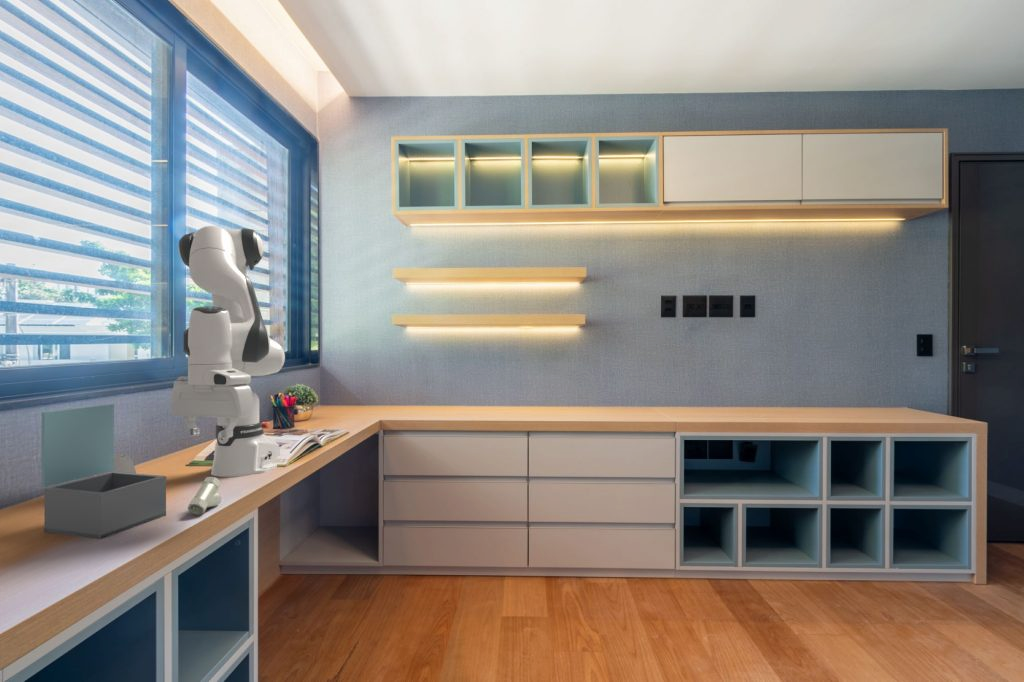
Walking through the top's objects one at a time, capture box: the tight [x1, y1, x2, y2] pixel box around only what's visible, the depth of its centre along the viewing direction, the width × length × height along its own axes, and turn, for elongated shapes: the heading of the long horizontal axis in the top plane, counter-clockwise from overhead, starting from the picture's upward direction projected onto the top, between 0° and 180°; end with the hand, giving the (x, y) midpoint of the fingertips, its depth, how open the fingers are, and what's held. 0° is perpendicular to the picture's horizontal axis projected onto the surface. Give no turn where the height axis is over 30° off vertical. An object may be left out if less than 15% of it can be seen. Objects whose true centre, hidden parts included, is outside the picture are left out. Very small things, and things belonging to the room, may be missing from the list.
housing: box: [43, 472, 167, 540], centre depth 110 cm, size 14×15×9 cm
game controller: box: [74, 453, 137, 481], centre depth 133 cm, size 14×4×10 cm, turn 93°
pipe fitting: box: [187, 476, 222, 516], centre depth 118 cm, size 8×4×7 cm
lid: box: [41, 403, 115, 488], centre depth 112 cm, size 14×15×1 cm
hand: (210, 436), depth 120 cm, fingers open, 8 cm apart
